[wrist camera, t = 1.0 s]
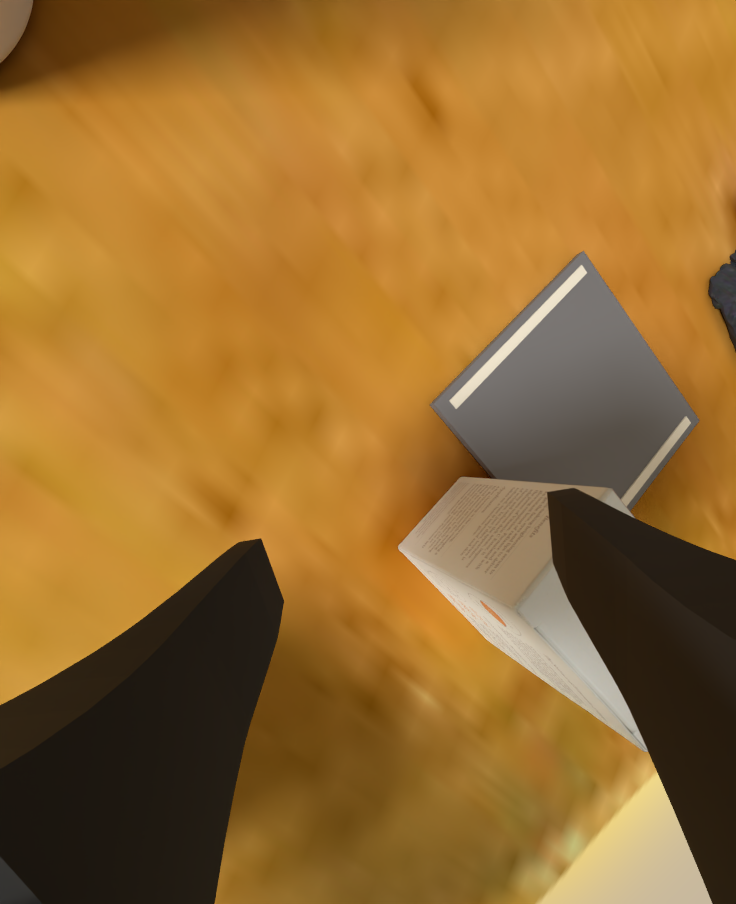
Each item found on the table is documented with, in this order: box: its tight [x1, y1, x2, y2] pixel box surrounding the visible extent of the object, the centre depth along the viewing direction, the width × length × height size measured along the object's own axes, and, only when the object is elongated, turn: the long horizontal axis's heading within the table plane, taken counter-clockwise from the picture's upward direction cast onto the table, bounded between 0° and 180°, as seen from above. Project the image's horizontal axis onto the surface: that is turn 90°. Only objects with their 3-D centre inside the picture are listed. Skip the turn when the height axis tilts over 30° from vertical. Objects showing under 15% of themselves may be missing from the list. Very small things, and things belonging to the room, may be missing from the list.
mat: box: [430, 251, 699, 511], centre depth 27 cm, size 14×14×1 cm
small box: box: [398, 477, 648, 752], centre depth 20 cm, size 8×6×10 cm
